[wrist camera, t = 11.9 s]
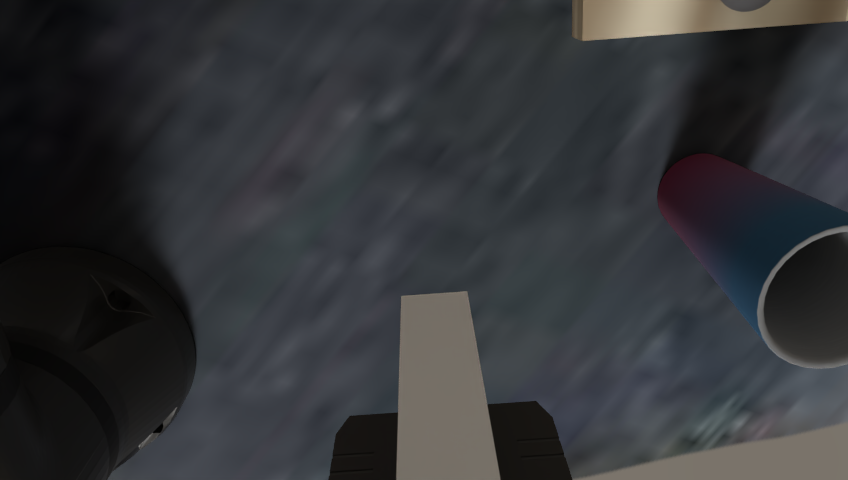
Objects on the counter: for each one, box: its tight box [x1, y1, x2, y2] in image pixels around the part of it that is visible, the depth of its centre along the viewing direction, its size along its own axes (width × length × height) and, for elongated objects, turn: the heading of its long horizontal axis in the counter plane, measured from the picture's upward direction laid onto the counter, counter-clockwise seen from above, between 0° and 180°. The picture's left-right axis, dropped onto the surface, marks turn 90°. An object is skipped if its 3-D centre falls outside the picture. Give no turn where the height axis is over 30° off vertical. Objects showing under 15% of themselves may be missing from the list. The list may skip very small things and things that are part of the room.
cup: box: [657, 153, 848, 369], centre depth 35 cm, size 7×7×15 cm
